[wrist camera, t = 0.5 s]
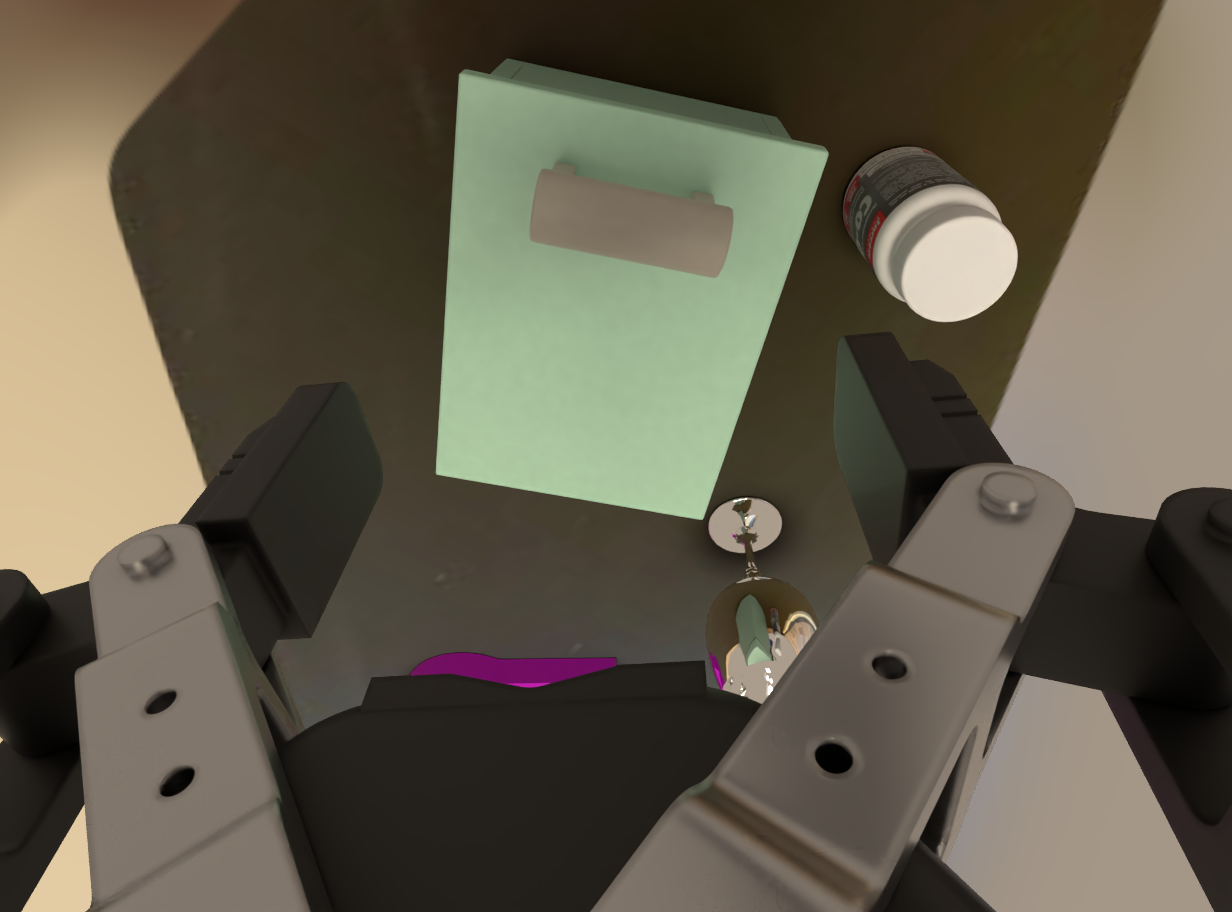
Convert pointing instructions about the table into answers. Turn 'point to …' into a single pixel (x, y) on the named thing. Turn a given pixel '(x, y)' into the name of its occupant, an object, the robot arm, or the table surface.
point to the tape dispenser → (512, 668)
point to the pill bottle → (929, 234)
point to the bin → (640, 97)
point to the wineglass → (754, 606)
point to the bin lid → (608, 291)
